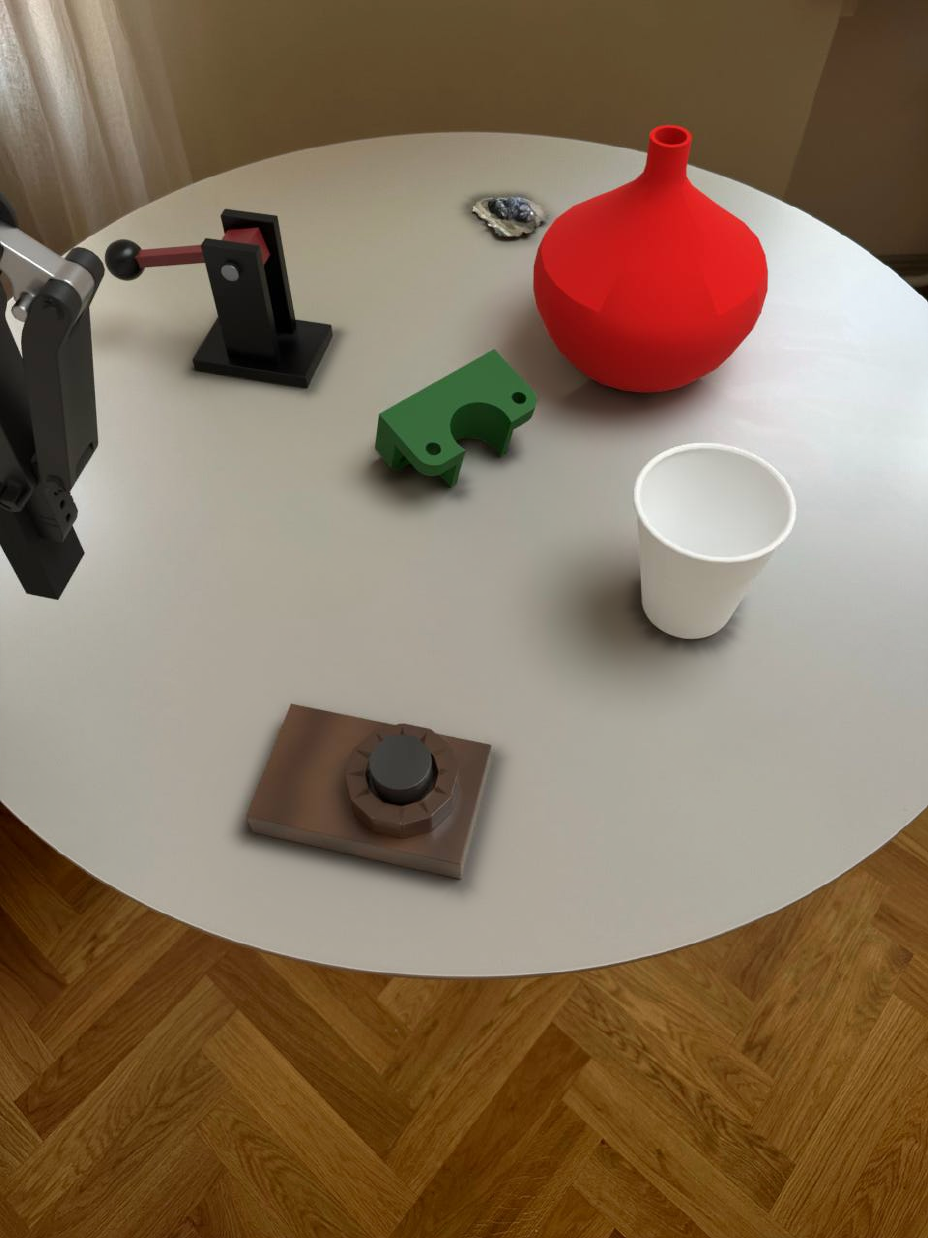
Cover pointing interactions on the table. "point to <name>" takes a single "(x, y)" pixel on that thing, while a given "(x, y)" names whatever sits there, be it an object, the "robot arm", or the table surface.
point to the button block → (368, 793)
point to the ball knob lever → (168, 254)
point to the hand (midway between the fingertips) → (56, 572)
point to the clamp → (455, 417)
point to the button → (401, 768)
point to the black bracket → (256, 310)
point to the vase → (650, 277)
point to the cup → (706, 533)
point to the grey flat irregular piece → (510, 215)
